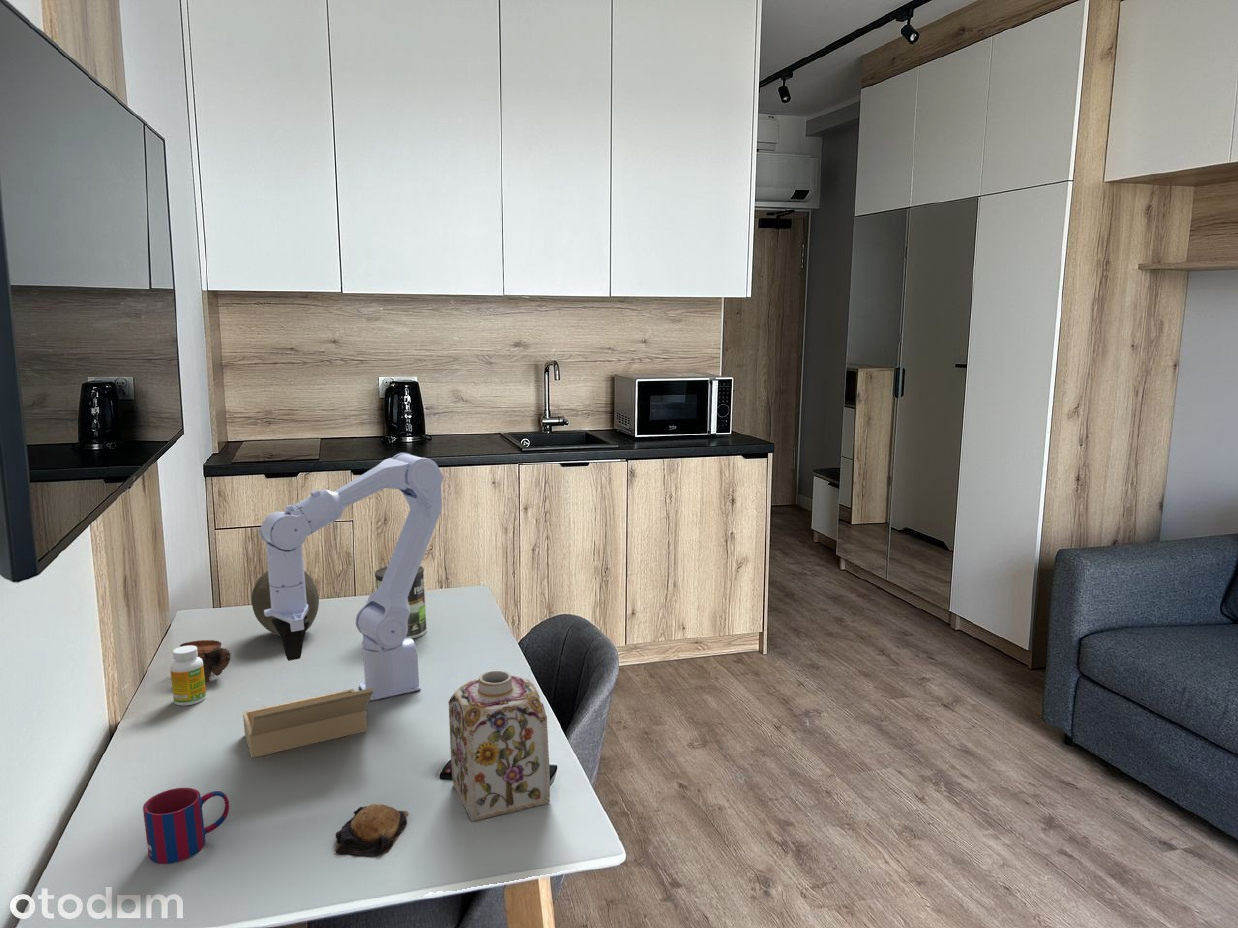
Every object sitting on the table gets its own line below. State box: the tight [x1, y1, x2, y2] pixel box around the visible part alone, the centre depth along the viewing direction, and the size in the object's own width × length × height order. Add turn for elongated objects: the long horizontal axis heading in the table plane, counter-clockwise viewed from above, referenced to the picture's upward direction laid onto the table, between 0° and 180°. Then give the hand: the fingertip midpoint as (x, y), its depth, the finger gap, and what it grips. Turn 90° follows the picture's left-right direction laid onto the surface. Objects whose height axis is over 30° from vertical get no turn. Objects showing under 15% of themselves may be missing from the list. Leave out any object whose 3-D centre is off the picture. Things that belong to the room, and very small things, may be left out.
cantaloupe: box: [251, 570, 320, 636], centre depth 194 cm, size 14×14×15 cm
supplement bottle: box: [169, 645, 207, 707], centre depth 162 cm, size 5×5×10 cm
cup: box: [142, 787, 230, 865], centre depth 117 cm, size 7×10×7 cm
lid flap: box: [251, 688, 373, 736], centre depth 141 cm, size 18×10×1 cm
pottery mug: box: [179, 639, 231, 684], centre depth 173 cm, size 12×10×8 cm
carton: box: [242, 688, 368, 759], centre depth 149 cm, size 18×9×4 cm, turn 119°
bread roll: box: [333, 803, 409, 858], centre depth 120 cm, size 11×8×4 cm
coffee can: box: [374, 565, 428, 640], centre depth 194 cm, size 10×10×14 cm
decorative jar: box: [448, 670, 551, 822], centre depth 128 cm, size 12×12×18 cm
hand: (293, 658), depth 154 cm, fingers closed
